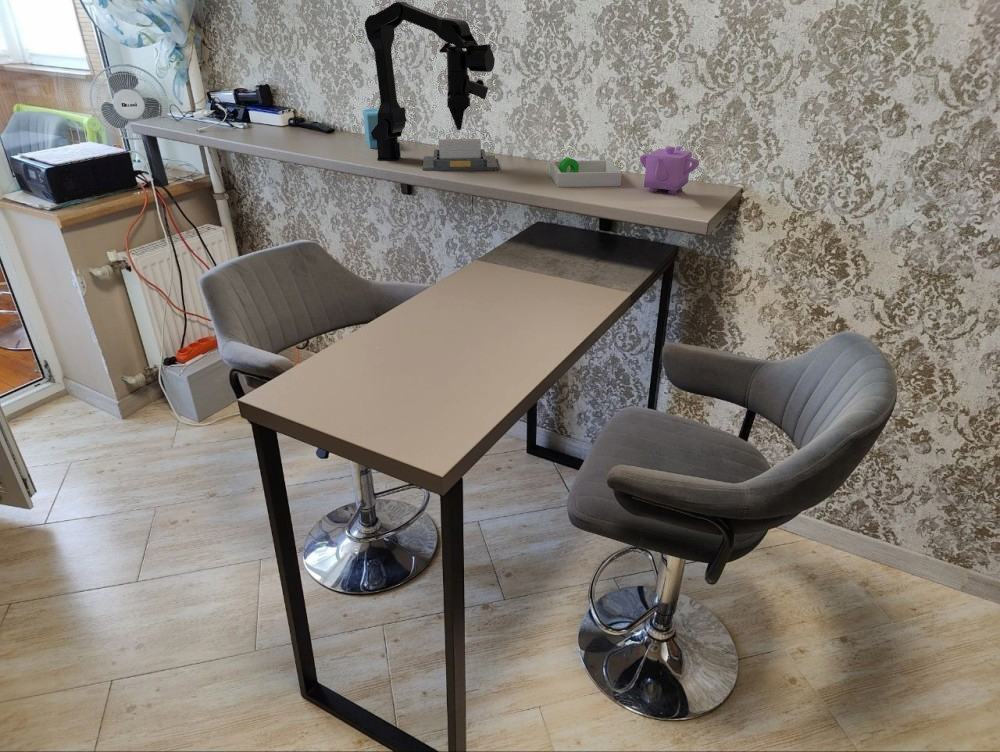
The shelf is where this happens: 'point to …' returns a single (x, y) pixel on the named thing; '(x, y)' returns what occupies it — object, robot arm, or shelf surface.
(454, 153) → the panel
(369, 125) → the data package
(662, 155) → the teapot
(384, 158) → the robot arm
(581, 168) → the parts corral
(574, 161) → the mechanical part
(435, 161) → the rack
